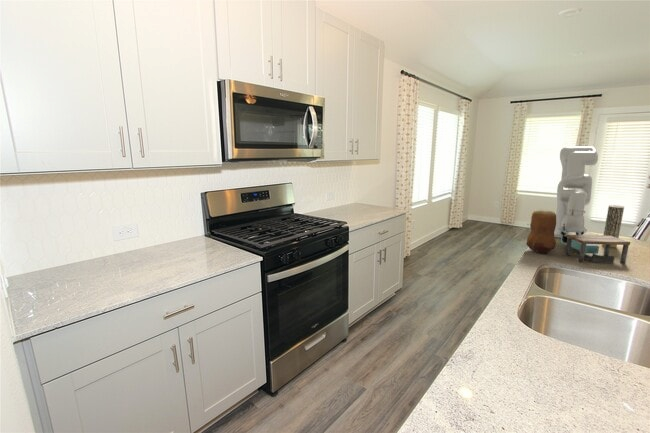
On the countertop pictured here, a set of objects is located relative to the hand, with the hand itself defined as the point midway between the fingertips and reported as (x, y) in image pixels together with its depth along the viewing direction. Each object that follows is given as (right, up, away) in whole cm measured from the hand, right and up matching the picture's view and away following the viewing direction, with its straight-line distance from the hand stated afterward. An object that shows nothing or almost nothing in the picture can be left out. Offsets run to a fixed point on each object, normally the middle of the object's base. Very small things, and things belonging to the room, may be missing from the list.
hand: (570, 242), depth 185 cm
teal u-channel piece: (-1, -3, -7) cm, 7 cm away
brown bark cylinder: (+27, -3, +4) cm, 27 cm away
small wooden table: (-2, -8, -18) cm, 20 cm away
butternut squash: (-23, -6, -7) cm, 25 cm away
